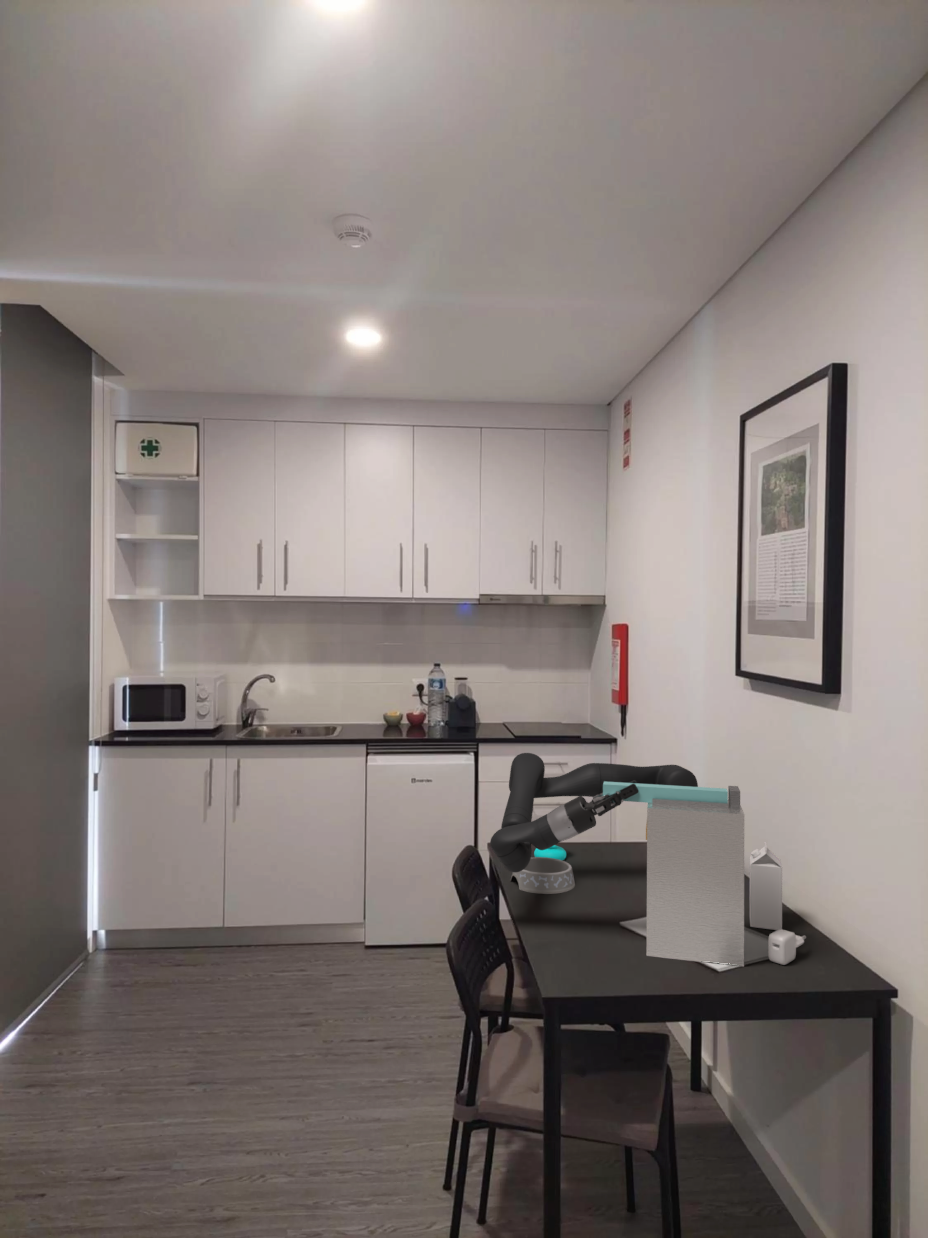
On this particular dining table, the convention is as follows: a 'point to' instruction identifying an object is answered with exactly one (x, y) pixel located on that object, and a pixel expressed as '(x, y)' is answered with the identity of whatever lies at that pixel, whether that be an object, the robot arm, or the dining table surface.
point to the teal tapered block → (668, 792)
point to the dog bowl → (545, 876)
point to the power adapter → (783, 946)
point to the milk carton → (765, 890)
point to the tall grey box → (696, 879)
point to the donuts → (551, 853)
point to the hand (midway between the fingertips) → (636, 786)
